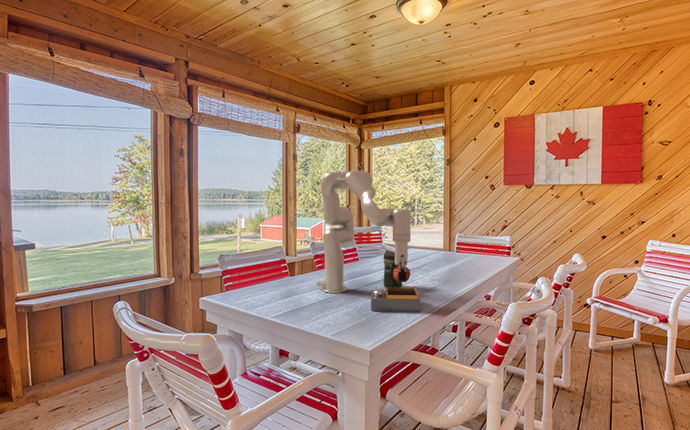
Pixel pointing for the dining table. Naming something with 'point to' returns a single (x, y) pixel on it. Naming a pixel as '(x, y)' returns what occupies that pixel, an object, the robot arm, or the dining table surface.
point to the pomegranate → (396, 274)
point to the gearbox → (395, 300)
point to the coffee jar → (390, 271)
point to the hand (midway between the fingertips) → (401, 278)
